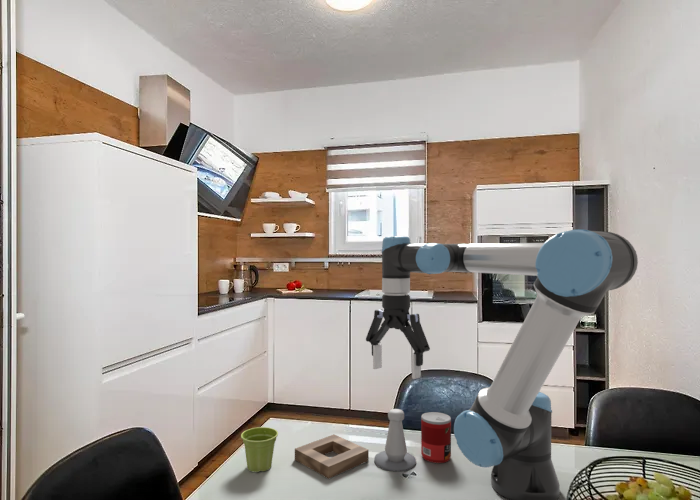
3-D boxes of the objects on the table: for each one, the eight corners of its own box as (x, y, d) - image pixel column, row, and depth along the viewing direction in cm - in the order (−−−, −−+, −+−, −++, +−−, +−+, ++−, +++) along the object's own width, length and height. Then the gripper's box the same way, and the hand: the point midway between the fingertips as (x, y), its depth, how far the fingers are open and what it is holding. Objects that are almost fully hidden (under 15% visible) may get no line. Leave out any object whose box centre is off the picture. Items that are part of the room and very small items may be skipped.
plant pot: (256, 456, 125) (256, 424, 125) (285, 463, 121) (285, 430, 121) (233, 471, 116) (233, 437, 116) (263, 479, 112) (263, 443, 112)
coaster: (424, 461, 121) (424, 459, 121) (397, 475, 114) (397, 473, 114) (393, 448, 129) (393, 446, 129) (365, 460, 122) (365, 458, 122)
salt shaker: (380, 460, 121) (380, 411, 121) (391, 452, 126) (391, 405, 126) (400, 466, 118) (400, 415, 118) (410, 457, 122) (410, 409, 122)
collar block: (368, 460, 122) (368, 449, 122) (328, 478, 112) (328, 466, 112) (333, 444, 132) (333, 434, 132) (294, 459, 122) (294, 448, 122)
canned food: (451, 465, 120) (451, 423, 120) (420, 462, 121) (420, 420, 121) (450, 452, 127) (450, 412, 127) (421, 449, 129) (421, 410, 129)
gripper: (443, 296, 116) (443, 379, 116) (371, 290, 134) (371, 362, 134) (425, 298, 111) (425, 385, 111) (353, 291, 129) (353, 366, 129)
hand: (396, 373), depth 123 cm, fingers open, 13 cm apart
